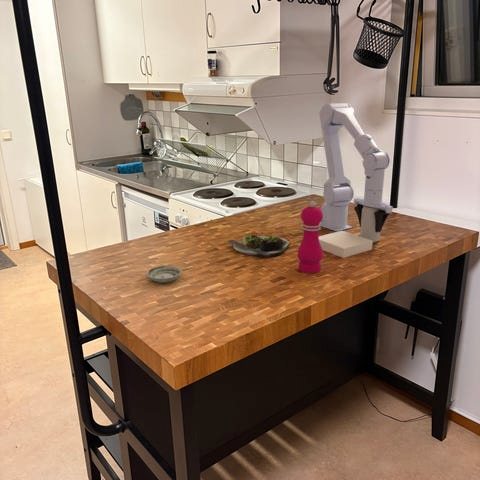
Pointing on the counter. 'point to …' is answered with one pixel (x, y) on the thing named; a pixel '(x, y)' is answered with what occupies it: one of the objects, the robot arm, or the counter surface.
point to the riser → (344, 244)
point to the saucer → (163, 273)
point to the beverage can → (369, 224)
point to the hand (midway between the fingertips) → (370, 229)
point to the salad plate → (261, 245)
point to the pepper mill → (310, 240)
